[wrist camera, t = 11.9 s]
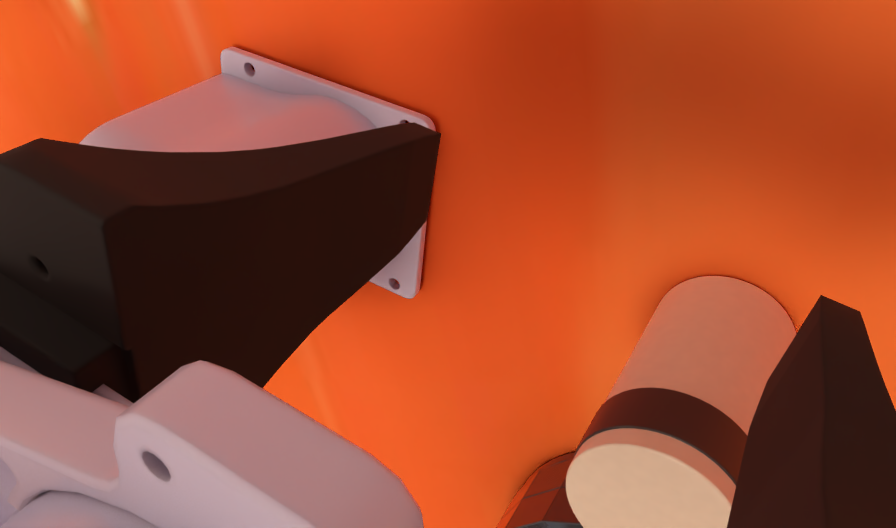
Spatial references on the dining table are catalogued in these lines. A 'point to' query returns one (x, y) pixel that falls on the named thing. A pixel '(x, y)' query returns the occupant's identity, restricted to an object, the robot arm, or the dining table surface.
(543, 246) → the dining table surface
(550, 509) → the pan
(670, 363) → the beige cylinder
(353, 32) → the dining table surface
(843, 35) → the dining table surface
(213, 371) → the robot arm
